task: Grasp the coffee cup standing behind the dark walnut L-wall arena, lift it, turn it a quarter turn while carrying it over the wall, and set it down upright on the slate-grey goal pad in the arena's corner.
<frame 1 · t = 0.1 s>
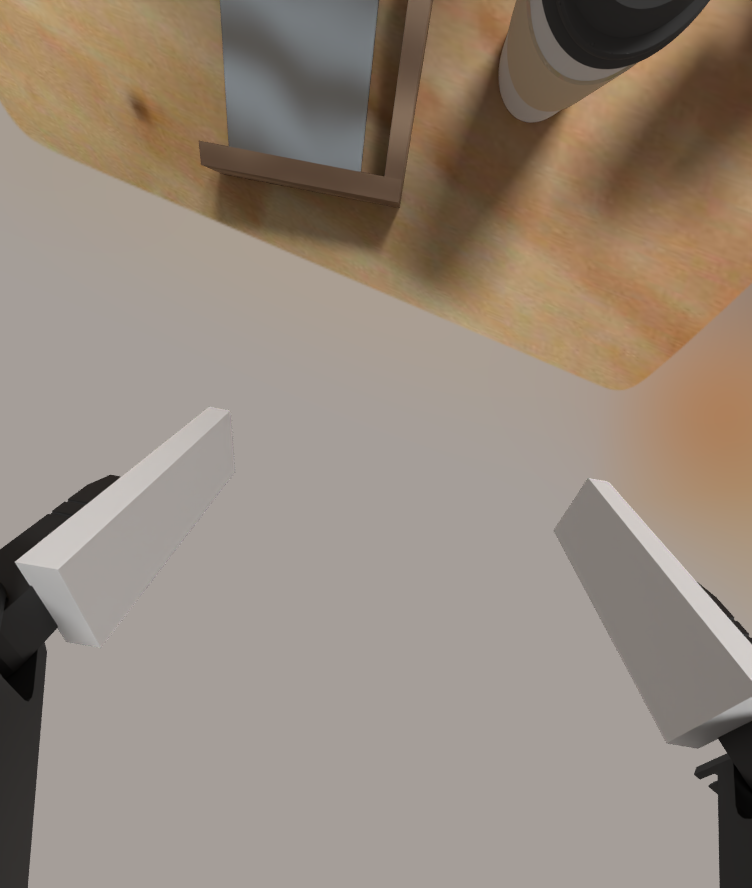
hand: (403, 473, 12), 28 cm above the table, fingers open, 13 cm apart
arena: (297, 73, 26), on the table
coffee cup: (542, 62, 25), on the table
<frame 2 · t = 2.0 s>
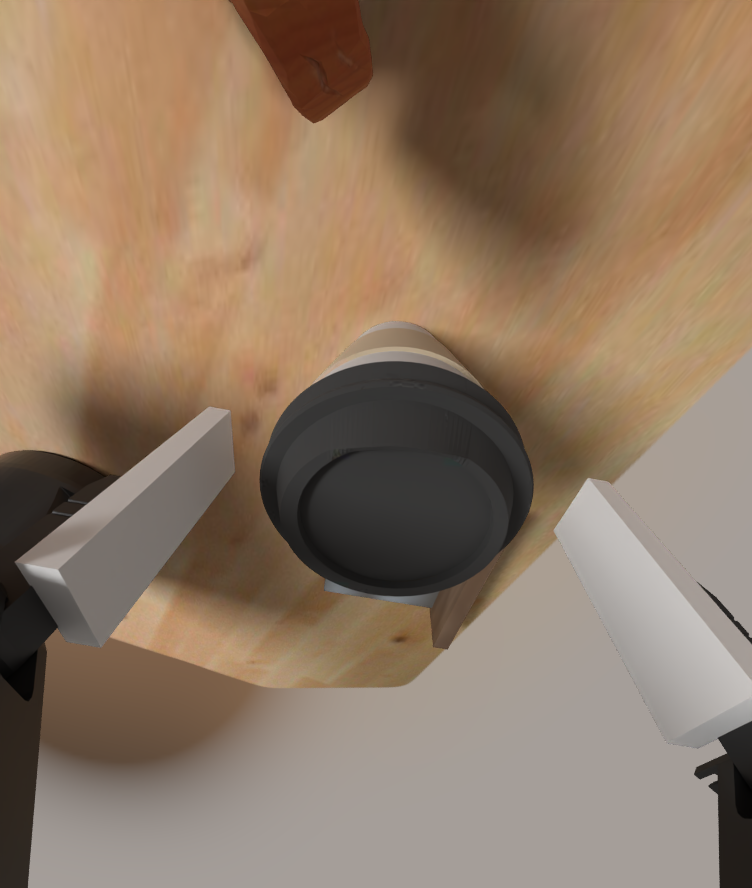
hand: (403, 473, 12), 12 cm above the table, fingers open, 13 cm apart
arena: (388, 561, 32), on the table
coffee cup: (395, 371, 22), on the table
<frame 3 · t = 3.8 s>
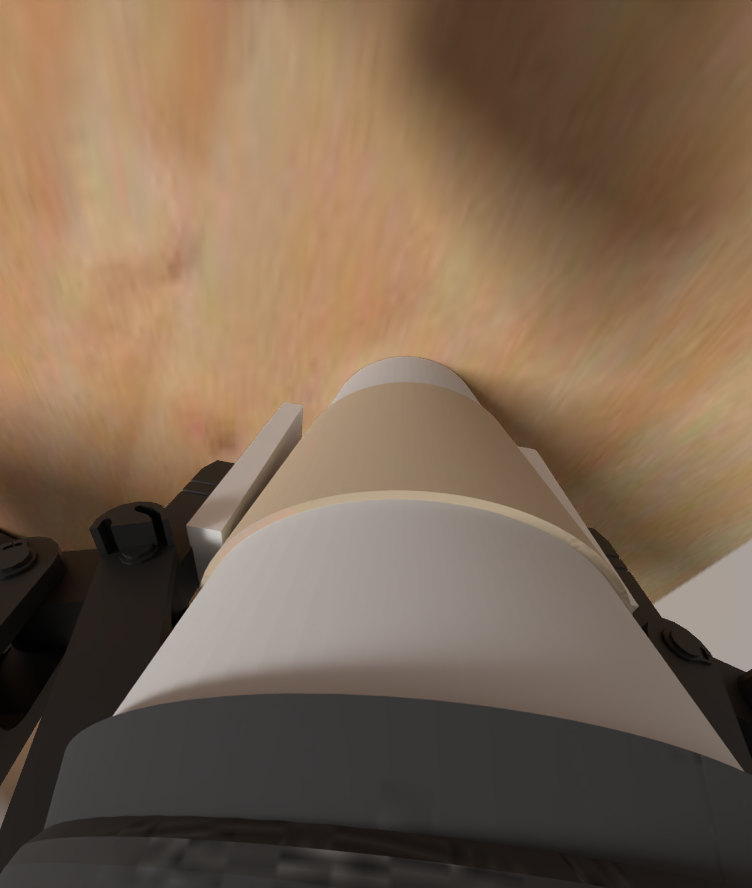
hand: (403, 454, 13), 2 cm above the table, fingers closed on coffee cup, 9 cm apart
coffee cup: (403, 425, 15), on the table, touching gripper
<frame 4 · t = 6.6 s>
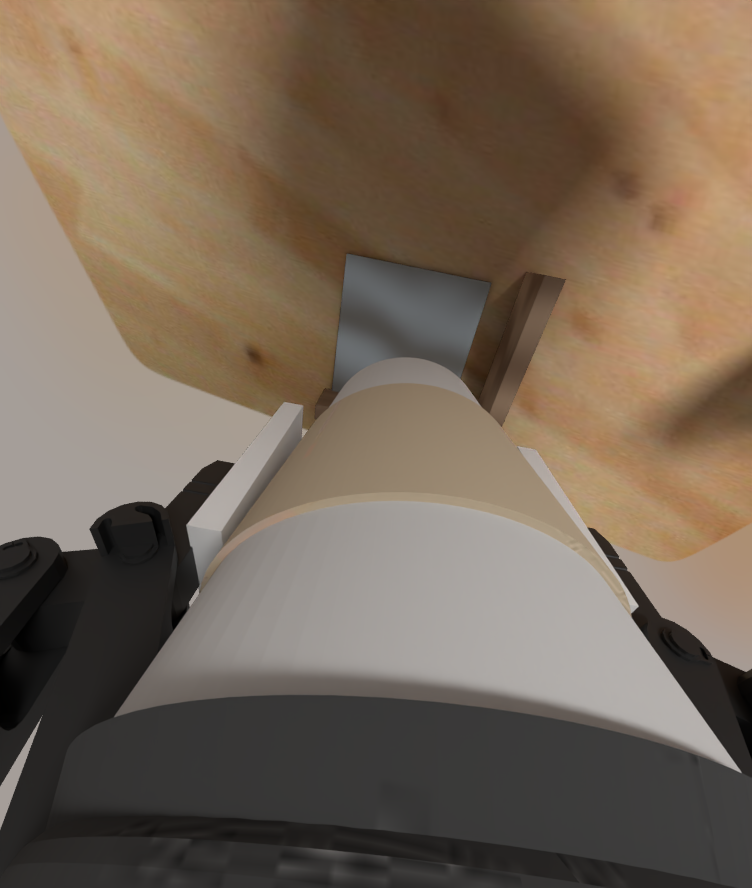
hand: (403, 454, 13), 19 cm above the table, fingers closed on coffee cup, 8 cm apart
arena: (403, 341, 29), on the table
coffee cup: (403, 425, 15), point 16 cm above the table, touching gripper
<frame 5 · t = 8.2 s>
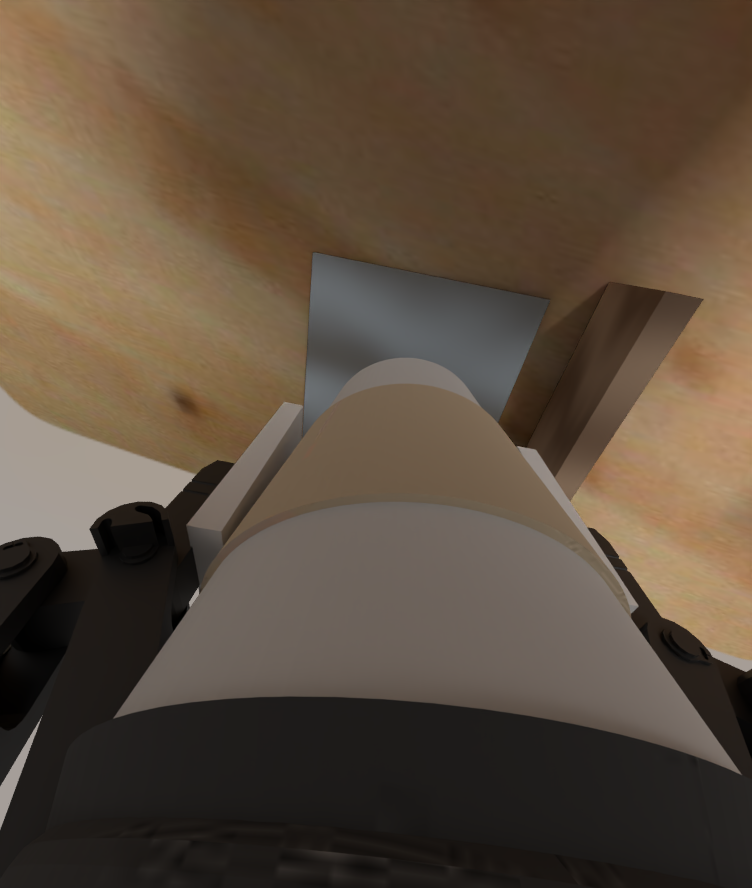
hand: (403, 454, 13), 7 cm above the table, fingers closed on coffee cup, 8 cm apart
arena: (406, 386, 19), on the table
coffee cup: (403, 425, 15), point 5 cm above the table, touching gripper
when the fingers open (5 cm above the table, at t = 9.5 s): coffee cup drops 2 cm, resting on arena.
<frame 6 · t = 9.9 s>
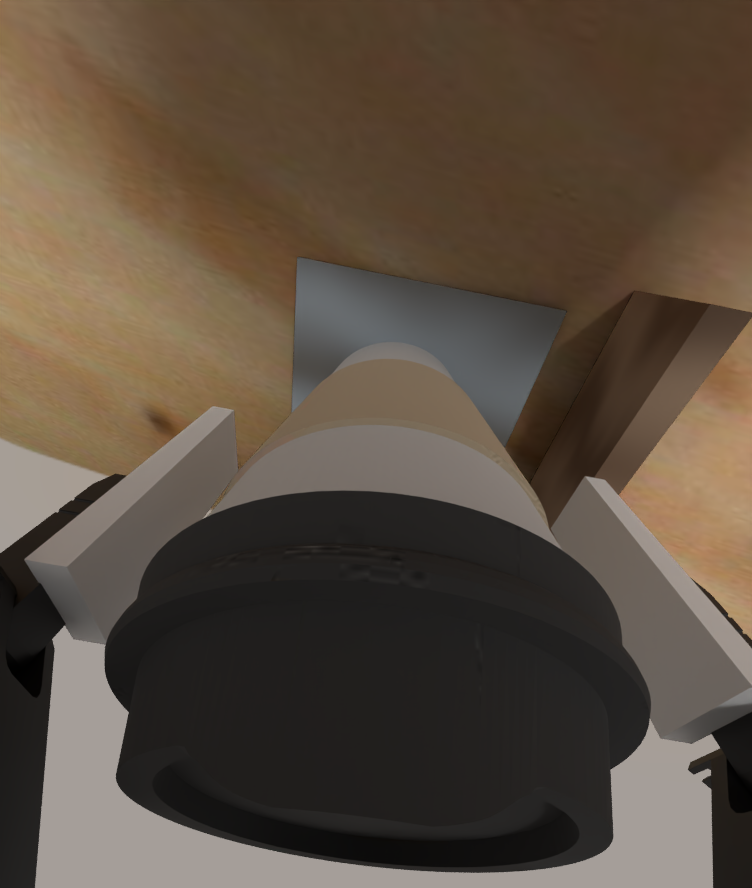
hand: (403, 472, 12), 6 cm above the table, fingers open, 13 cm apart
arena: (403, 405, 17), on the table
coffee cup: (390, 404, 17), resting on arena
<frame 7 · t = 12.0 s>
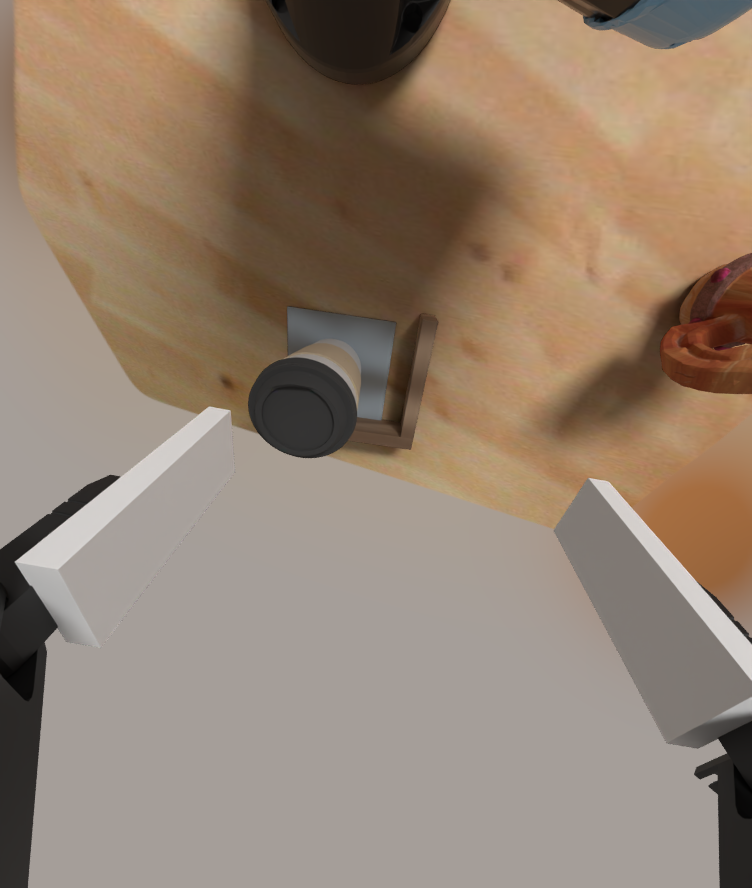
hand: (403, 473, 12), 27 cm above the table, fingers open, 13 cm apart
arena: (338, 367, 38), on the table
coffee cup: (332, 367, 38), resting on arena
mug: (685, 309, 33), on the table
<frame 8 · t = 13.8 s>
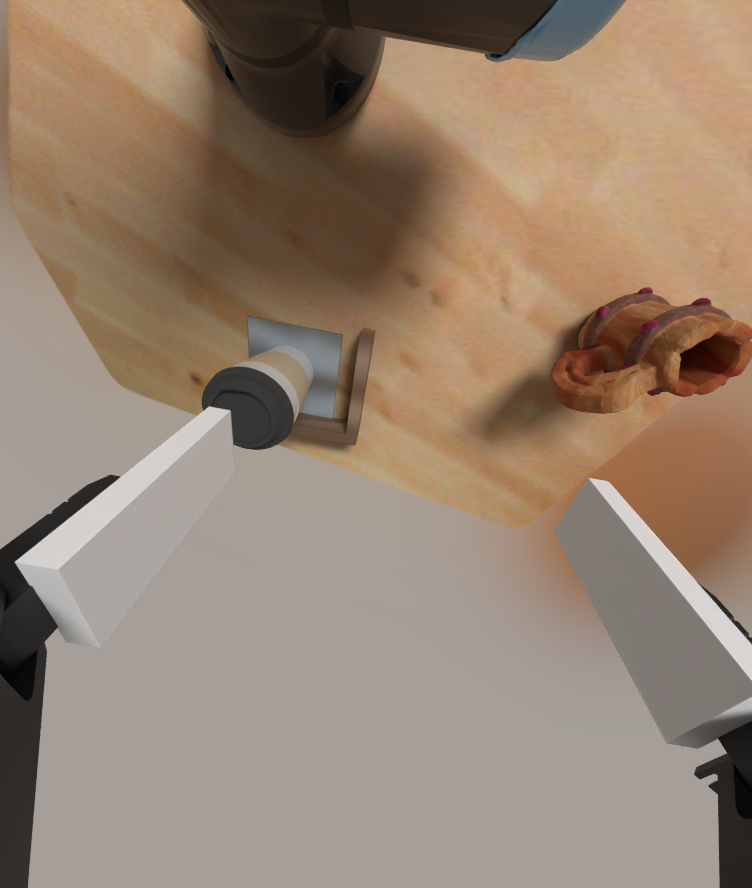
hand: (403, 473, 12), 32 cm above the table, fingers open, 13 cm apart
arena: (294, 370, 44), on the table
coffee cup: (288, 370, 43), resting on arena
mug: (586, 336, 39), on the table
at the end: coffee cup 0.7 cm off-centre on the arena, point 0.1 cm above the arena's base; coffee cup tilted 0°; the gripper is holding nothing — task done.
